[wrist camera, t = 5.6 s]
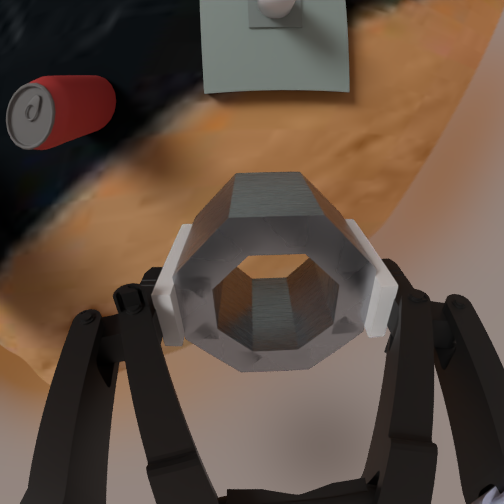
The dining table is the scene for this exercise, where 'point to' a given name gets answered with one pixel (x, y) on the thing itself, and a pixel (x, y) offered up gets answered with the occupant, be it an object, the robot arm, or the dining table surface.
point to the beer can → (59, 110)
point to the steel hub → (272, 289)
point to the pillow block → (274, 45)
